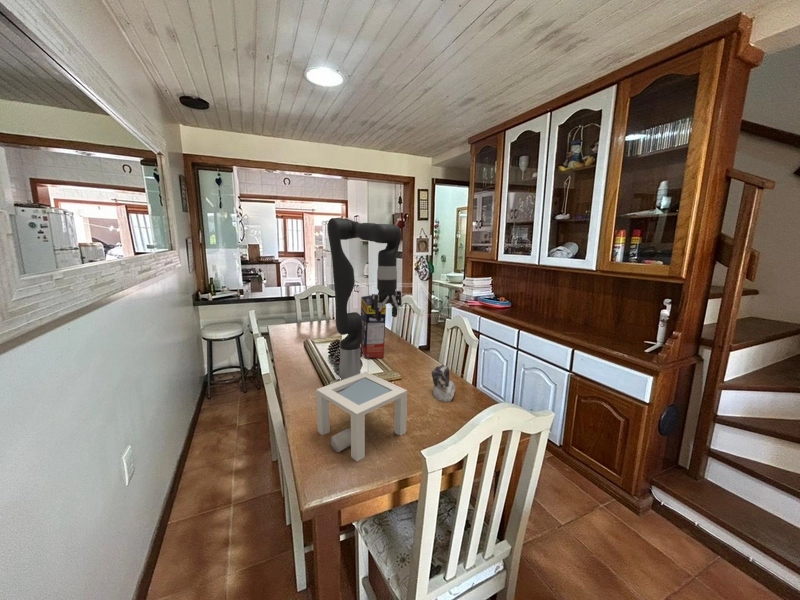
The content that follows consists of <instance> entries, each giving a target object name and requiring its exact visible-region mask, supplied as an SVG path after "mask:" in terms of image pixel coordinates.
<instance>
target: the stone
mask: <svg viewBox="0 0 800 600" xmlns="http://www.w3.org/2000/svg"><path fill="white" fill-rule="evenodd" d="M431 378H432V383H433V397H434V398H435V399H436V400H438V401H439V402H442V401H443V402H444V403H451V402H452V400H453V398H454V395H455V391H456V385H455V383H454V382H453V381H451V380H450V369H449V367H448V366H447V365H444V364H442V365H439V366H435V368H434V369H432V370H431Z"/></svg>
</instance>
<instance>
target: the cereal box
mask: <svg viewBox="0 0 800 600" xmlns="http://www.w3.org/2000/svg"><path fill="white" fill-rule="evenodd" d="M371 296H372V294H371V295H370V294H369V295H365V296H361V298H360V316H361V318H362V341H361V347H360V350H361V351H362V354H363V356H364V358H365V359H366V360H372V359H373V360H377V359H376V358H378V359H384V356H385V355H384V354H385V337H386V336H385V335H386V331H385V330H386V317H387V315H386V314H387V313H386V312H387V304H385V305H384V307H382V309H381V321H377V320H376V318H375V310H372V309H371ZM380 303H381V302H380ZM374 306H375V304H374Z"/></svg>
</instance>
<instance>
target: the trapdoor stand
mask: <svg viewBox="0 0 800 600" xmlns="http://www.w3.org/2000/svg"><path fill="white" fill-rule="evenodd" d="M363 378H365V379H367V380H370V381H372V382H374V383H376V384H378V385H380V386H382V387H384V388H386V389H388V390H390V392H387V393H385V394H383V395H381V396H378V397H376V398H374V399H372V400H369V401H367V402H365V403H363V404H360V405H357V404H356V403H354V402H352V401H350V400H349V399H347V398H345V397H343V396H342V395H340V394H338V393H339V392H341V391H343V390H344V389H346V388H348V387H349V386H351V385H353V384H355V383H356V382H358V381H360V380H361V379H363ZM315 391H316V394H315V395H316V416H317V417H316V420H317V421H316V422H317V425H316V426H317V432H318V434H320V435H321V436H324V435H327V434H328V433H330V431H331V429H330V427H331V426H330V424H331V423H330V403H331V404H332V405H334V406H336V407H337V408H340V409H341V410H342V411H344V412H346V413H347V414H348V415H350V429H351V446H350V457H351V458H352V459H353V460H354V461H355V462H359V461H361V460H363V459H364V458H365V457H366V452H365V451H366V450H365V446H366V445H365V444H366V443H365V440H366V439H365V437H366V433H365V432H366V431H365V430H366V427H365V426H366V423H365V420H366V418H365V417H366V416H365V415H367V414H370V413H371V412H374V411H376V410H377V409H380V408H382V407H384V406H385V405H389V404H390V403H392V402H394V410H393V411H394V413H393V416H394V422H393V432H394V434H396V435H398V436H399V435H400V437H401V436H403V435H405V434H406V433H407V416H408V415H407V410H408V409H407V408H408V390H407V389H405V388H403V387H401V386H398V385H397V384H394V383H392V382H390V381H387V380H385V379H383V378H381V377H379V376H376V375H374V374H372V373H369V372H367V371H363V372H360V374H358V375H355V376H352V377H349V378H347V379H344V380H341V381H340V380H339V381H336V382H333V383H331V384H328V385H325V386H322V387H319V388H316V389H315Z"/></svg>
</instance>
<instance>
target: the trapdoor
mask: <svg viewBox="0 0 800 600" xmlns="http://www.w3.org/2000/svg"><path fill="white" fill-rule="evenodd" d="M387 392H390V390H388V389H386V388H384V387H382V386H380V385H378V384H376V383H374V382H372V381H370V380H367V379H365V378H363V379H361V380H360V381H358V382H356V383H355V384H353V385H351V386H349V387H347V388H345V389H342V390H340V391H338V392H337V393H338V394H340V395H342V396H343V397H345V398H347V399H349V400H350V401H352V402H354V403H356V404H357V405H360V404H363V403H365V402H367V401H369V400H372V399H374V398H376V397H378V396H381V395H383V394H385V393H387Z"/></svg>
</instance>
